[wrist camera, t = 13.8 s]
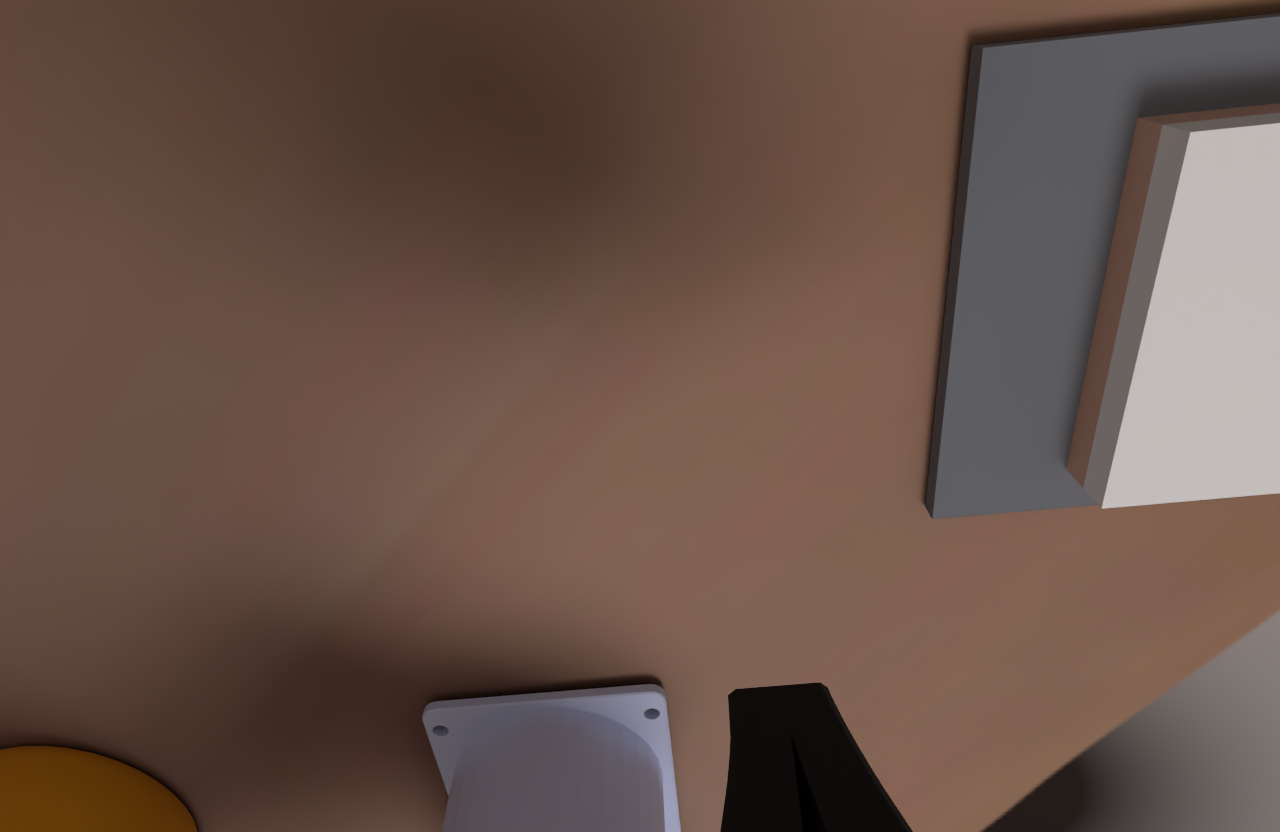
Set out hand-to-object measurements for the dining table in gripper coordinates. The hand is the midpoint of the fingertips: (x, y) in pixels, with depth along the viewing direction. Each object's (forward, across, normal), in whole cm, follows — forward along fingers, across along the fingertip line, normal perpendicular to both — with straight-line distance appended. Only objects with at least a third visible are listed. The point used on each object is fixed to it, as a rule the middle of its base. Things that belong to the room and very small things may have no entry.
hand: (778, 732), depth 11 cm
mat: (+10, -11, -2) cm, 15 cm away
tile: (+9, -9, -2) cm, 13 cm away
